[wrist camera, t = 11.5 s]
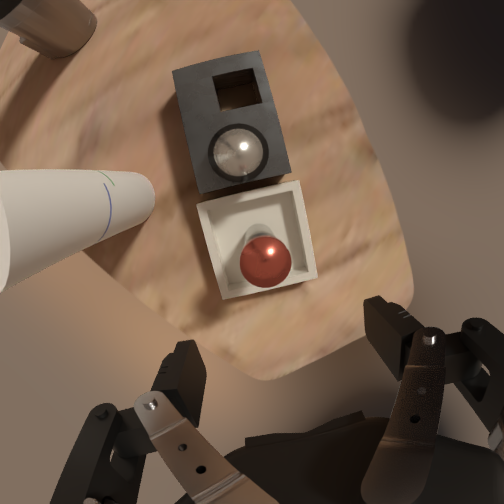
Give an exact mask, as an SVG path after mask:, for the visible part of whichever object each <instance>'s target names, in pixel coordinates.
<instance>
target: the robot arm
mask: <svg viewBox="0 0 504 504" xmlns="http://www.w3.org/2000/svg"><path fill="white" fill-rule="evenodd" d="M96 24H97V19H96V17H95V15H94V14H93V13H92V12H91V11H90V10H89V9H88V8H87V7H86V6H85V5H84V4H83V3H82V2H81V1H80V0H0V27H2V28H4V29H6V30H8V31H10V32H12V33H14V34H16V35H18V36H20V43H21V44H23V45H25V46H27V47H29V48H31V49H33V50H35V51H37V52H39V53H41V54H43V55H45V56H46V57H48V58H50V59H54V58H56V57H66V56H69V55H71V54H73V53H74V52H76V51H77V50H79V49H80V48H81V47H82V46H83V45H84V44H85V43H86V42H87V41H88V40H89V38H90V37H91V36H92V34H93V32H94V30H95V28H96ZM363 306H364V323H365V333H366V336H367V339H368V340H369V342H370V343H371V344H372V346H373V347H374V348H375V350H376V351H377V353H378V354H379V355H380V357H381V358H382V360H383V361H384V363H385V364H386V365H387V367H388V368H389V370H390V371H391V372H392V374H393V375H394V377H395V378H396V380H397V381H400V380H401V384H400V388H399V391H398V394H397V398H396V401H395V404H394V407H393V411H392V413H391V416H390V418H385V417H367V418H365V417H364V415H363V412H362V411H359V412H356V413H352V414H350V415H346V416H343V417H340V418H336V419H333V420H331V421H329V422H327V423H325V424H323V425H321V426H319V427H317V428H315V429H313V430H310V431H308V432H305V433H273V434H267V435H261V436H255V437H248V438H245V446H243V447H241V448H238V449H236V450H234V451H232V452H230V453H229V454H227V455H226V456H224V457H223V456H222V455H220V453H219V452H218V451H217V450H216V449H215V448H214V447H213V446H212V445H211V444H210V443H209V442H208V441H207V440H206V439H205V438H204V437H203V436H202V435H201V434H200V433H199V431H198V430H197V429H196V428H198V426H199V420H200V413H201V407H202V401H203V395H204V389H205V384H206V377H207V376H206V368H205V365H204V363H203V360H202V358H201V355H200V353H199V350H198V347H197V345H196V343H195V341H194V340H186V341H180V342H178V343H177V345H176V347H175V350H174V353H169V354H168V355H167V356H166V357H165V358H164V360H163V361H162V364H161V366H160V369H159V371H158V374H157V376H156V378H155V381H154V383H153V386H152V388H151V391H150V392H147V393H144V394H143V395H141V396H140V397H138V399H137V400H136V401H135V403H134V407H133V408H129V409H125V410H121V411H118V410H117V408H116V407H115V406H114V405H113V404H110V403H103V404H100V405H98V406H96V407H95V408H93V409H92V410H91V411H90V413H89V415H88V417H87V419H86V421H85V423H84V425H83V427H82V429H81V431H80V434H79V436H78V438H77V440H76V442H75V445H74V446H73V449H72V451H71V453H70V455H69V458H68V460H67V462H66V464H65V467H64V469H63V472H62V474H61V477H60V479H59V481H58V484H57V486H56V489H55V491H54V494H53V496H52V499H51V501H50V504H136V503H137V498H138V493H139V488H140V483H141V478H142V473H143V468H144V464H145V459H146V454H148V453H152V452H156V451H158V452H159V454H160V456H161V457H162V458H163V460H164V462H165V463H166V465H167V466H168V468H169V469H170V471H171V472H172V473H173V475H174V476H175V477H176V479H177V480H178V482H179V483H180V484H181V485H182V487H183V488H184V490H185V491H186V492H187V493H186V494H185V495H184V496H183V497H181V498H180V499H179V500H178V501H177V502H176V503H175V504H504V334H503V333H501V332H500V331H499V330H498V329H497V328H495V327H494V326H493V325H492V324H490V323H489V322H488V321H486V320H485V319H482V318H470V319H467V320H466V321H464V322H463V324H462V328H461V332H456V333H451V334H445V333H444V331H443V330H441V329H439V328H437V327H424V326H423V325H422V324H421V323H420V322H419V321H417V320H416V319H415V318H414V317H413V316H412V315H410V314H409V313H408V312H407V311H406V310H405V309H404V308H403V307H402V306H400V305H398V304H396V303H393V302H389V303H387V302H386V301H385V300H384V299H383V298H382V297H381V296H379V295H378V296H375V297H372V298H368V299H365V300H364V303H363ZM482 363H483V364H484V365H485V366H486V367H487V369H488V370H489V372H490V376H489V375H488V373H486V371H485V370H484V369H483V368H482V367H481V366H482ZM450 383H454V385H455V386H456V387H457V388H458V390H459V391H460V392H461V394H462V395H463V396H464V398H465V399H466V400H467V401H468V403H469V404H470V406H471V407H472V408H473V410H474V411H475V413H476V414H477V415H478V417H479V418H480V420H481V421H482V422H483V424H484V425H485V427H486V428H487V430H488V431H489V432H490V433H489V436H488V445H489V447H490V449H488V448H485V447H481V446H477V445H473V444H469V443H465V442H462V441H458V440H455V439H451V438H448V437H445V436H441V435H438V434H437V431H438V426H439V421H440V415H441V408H442V402H443V394H444V385H445V384H450ZM112 449H113V450H114V453H113V456H112V459H111V462H110V455H111V451H112Z"/></svg>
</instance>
